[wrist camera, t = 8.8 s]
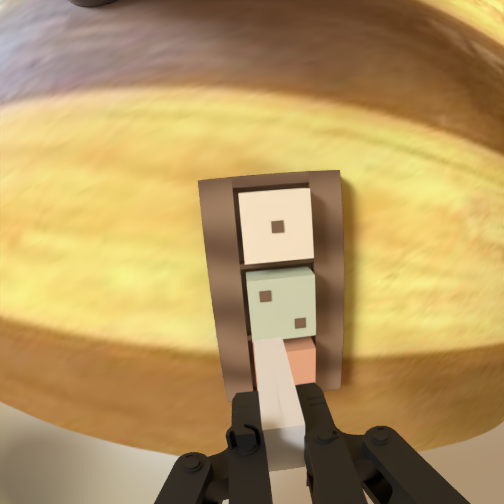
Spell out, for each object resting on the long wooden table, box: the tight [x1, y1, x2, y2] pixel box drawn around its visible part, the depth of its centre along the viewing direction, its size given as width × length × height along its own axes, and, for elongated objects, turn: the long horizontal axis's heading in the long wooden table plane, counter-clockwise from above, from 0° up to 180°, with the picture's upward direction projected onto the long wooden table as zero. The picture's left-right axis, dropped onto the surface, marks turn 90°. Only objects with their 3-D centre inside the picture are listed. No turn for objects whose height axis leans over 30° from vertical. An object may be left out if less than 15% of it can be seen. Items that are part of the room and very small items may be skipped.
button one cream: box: [238, 188, 314, 265], centre depth 28 cm, size 6×6×3 cm
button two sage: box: [246, 266, 316, 342], centre depth 29 cm, size 6×6×3 cm
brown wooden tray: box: [198, 170, 344, 402], centre depth 31 cm, size 24×13×2 cm, turn 5°
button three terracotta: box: [253, 336, 316, 391], centre depth 31 cm, size 6×6×3 cm
